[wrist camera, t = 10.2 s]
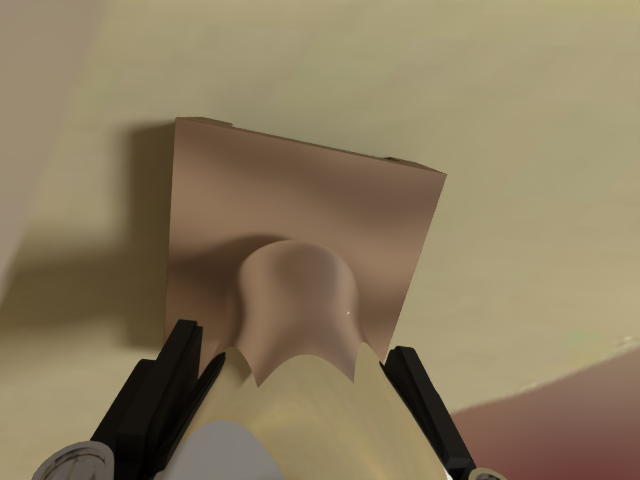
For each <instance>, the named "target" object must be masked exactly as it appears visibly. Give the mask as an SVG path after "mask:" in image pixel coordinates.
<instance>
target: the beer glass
mask: <svg viewBox="0 0 640 480" xmlns="http://www.w3.org/2000/svg"><path fill="white" fill-rule="evenodd" d="M140 480H454V479H453V477H452V475H451V474H450V472H449V470H448V468H447V467H446V465H445V463H444V461H443V460H442V458H441V456H440V454H439V453H438V451H437V449H436V447H435V446H434V444H433V442H432V440H431V439H430V437H429V435H428V434H427V432H426V430H425V428H424V427H423V425H422V424H421V422H420V421H419V419H418V417H417V416H416V414H415V413H414V411H413V410H412V408H411V407H410V405H409V403H408V402H407V400H406V399H405V397H404V396H403V394H402V392H401V391H400V389H399V388H398V386H397V385H396V383H395V382H394V380H393V379H392V377H391V376H390V374H389V373H388V371H387V370H386V368H385V366H384V365H383V363H382V362H381V360H380V359H379V357H378V356H377V354H376V353H375V351H374V349H373V348H372V346H371V344H370V343H369V341H368V339H367V337H366V335H365V333H364V331H363V328H362V324H361V317H360V296H359V289H358V285H357V282H356V279H355V277H354V274H353V272H352V271H351V269H350V268H349V266H348V265H347V264H346V262H345V261H344V260H343V259H342V258H341V257H340V256H338V255H337V254H336V253H335V252H333V251H332V250H330V249H328V248H326V247H324V246H322V245H319V244H316V243H313V242H309V241H303V240H284V241H278V242H274V243H270V244H268V245H265V246H263V247H261V248H259V249H257V250H255V251H254V252H252V253H251V254H249V255H248V256H247V257H246V258H245V259H244V260H242V262H241V263H240V264H239V265H238V266H237V267H236V269H235V270H234V272H233V273H232V275H231V277H230V280H229V282H228V285H227V289H226V294H225V323H224V330H223V334H222V337H221V339H220V342H219V344H218V346H217V348H216V350H215V352H214V354H213V355H212V357H211V359H210V361H209V363H208V364H207V366H206V368H205V369H204V371H203V373H202V374H201V376H200V377H199V379H198V381H197V382H196V384H195V386H194V387H193V389H192V391H191V392H190V394H189V395H188V397H187V399H186V400H185V402H184V404H183V406H182V407H181V409H180V411H179V412H178V414H177V416H176V417H175V419H174V421H173V422H172V424H171V426H170V427H169V429H168V431H167V433H166V434H165V436H164V438H163V439H162V441H161V443H160V444H159V446H158V448H157V450H156V451H155V453H154V455H153V457H152V459H151V461H150V463H149V464H148V466H147V468H146V470H145V472H144V474H143V476H142V478H141V479H140Z"/></svg>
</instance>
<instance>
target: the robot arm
mask: <svg viewBox="0 0 640 480" xmlns="http://www.w3.org/2000/svg"><path fill="white" fill-rule="evenodd" d="M197 325H198V323H197V321H193V320H185V319H179V320H178V321H177V323H176V325H175V326H174V328H173V330H172V332H171V334H170V335H169V337H168V339H167V341H166V343H165V344H164V346H163V348H162V350H161V352H160V354H159V355H158V357H157V359H156V360H148V359H141V360H140V361H139V362H138V363H137V365H136V366H135V368H134V370H133V371H132V373H131V375H130V376H129V378H128V379H127V381H126V383H125V384H124V386H123V387H122V389H121V391H120V392H119V394H118V396H117V397H116V399H115V400H114V402H113V404H112V405H111V407H110V408H109V410H108V412H107V413H106V415H105V416H104V418H103V420H102V421H101V423H100V425H99V426H98V428H97V429H96V431H95V433H94V434H93V436H92V437H91V439H90V441H85V442H78V443H75V444H72V445H70V446H67V447H65V448H63V449H61V450H59V451H58V452H56V453H54V454H53V455H52V456H51V457H49V458H48V459H47V460H46V461H45V462H43V463H42V465H41V466H40V467H39V468H38V470H37V471H36V472H35V473H34V475H33V477H32V480H140V479H141V478H142V476H143V474H144V472H145V470H146V468H147V466H148V464H149V463H150V461H151V459H152V457H153V455H154V453H155V451H156V450H157V448H158V446H159V444H160V443H161V441H162V439H163V438H164V436H165V434H166V433H167V431H168V429H169V427H170V426H171V424H172V422H173V421H174V419H175V417H176V416H177V414H178V412H179V411H180V409H181V407H182V406H183V404H184V402H185V400H186V399H187V397H188V395H189V394H190V392H191V391H192V389H193V387H194V386H195V384H196V382H197V381H198V375H199V365H200V355H201V345H202V335H203V326H197ZM385 368H386V370H387V371H388V373H389V374H390V376H391V377H392V379H393V380H394V382H395V383H396V385H397V386H398V388H399V389H400V391H401V392H402V394H403V396H404V397H405V399H406V400H407V402H408V403H409V405H410V407H411V408H412V410H413V411H414V413H415V414H416V416H417V417H418V419H419V421H420V422H421V424H422V425H423V427H424V428H425V430H426V432H427V434H428V435H429V437H430V439H431V440H432V442H433V444H434V446H435V447H436V449H437V451H438V453H439V454H440V456H441V458H442V460H443V461H444V463H445V465H446V467H447V468H448V470H449V472H450V474H451V475H452V477H453V479H454V480H507V479H506V478H504V477H503V476H502V475H500V474H498V473H496V472H495V471H493V470H490V469H487V468H477V467H476V465H475V463H474V461H473V459H472V457H471V456H470V454H469V452H468V450H467V448H466V446H465V444H464V442H463V440H462V438H461V436H460V434H459V432H458V430H457V428H456V427H455V425H454V423H453V421H452V419H451V417H450V415H449V413H448V411H447V409H446V407H445V405H444V403H443V401H442V399H441V398H440V396H439V394H438V393H437V391H436V390H435V388H434V386H433V384H432V382H431V381H430V379H429V377H428V375H427V373H426V371H425V369H424V367H423V365H422V363H421V361H420V359H419V357H418V355H417V353H416V351H415V350H414V348H411V347H403V346H396V347H395V349H394V350H393V349H392V350H390V352H389V354H388V357H387V360H386V363H385Z"/></svg>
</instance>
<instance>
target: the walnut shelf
mask: <svg viewBox="0 0 640 480" xmlns="http://www.w3.org/2000/svg"><path fill="white" fill-rule="evenodd" d="M446 176H447V174H445V173H442V172H439V171H437V170H434V169H432V168H429V167H426V166H424V165H421V164H419V163H416V162H411V161H406V160H402V159H397V158H392V157H390V159H389V160H388V159H383V158H378V157H374V156H369V155H364V154H359V153H355V152H350V151H345V150H340V149H336V148H331V147H326V146H321V145H317V144H312V143H307V142H302V141H298V140H293V139H288V138H283V137H279V136H274V135H269V134H265V133H260V132H255V131H250V130H246V129H241V128H236V127H232V123H227V122H223V121H218V120H213V119H209V118H204V117H176V120H175V139H174V158H173V177H172V196H171V215H170V234H169V252H168V271H167V290H166V309H165V328H164V344H165V343H166V341H167V339H168V337H169V335H170V334H171V332H172V330H173V328H174V326H175V325H176V323H177V321H178V320H179V319H185V320H193V321H197V323H198V325H197V326H203V335H202V345H201V355H200V365H199V375H198V379H199V377H200V376H201V374H202V373H203V371H204V369H205V368H206V366H207V364H208V363H209V361H210V359H211V357H212V355H213V354H214V352H215V350H216V348H217V346H218V344H219V342H220V339H221V337H222V334H223V330H224V323H225V294H226V289H227V285H228V282H229V280H230V277H231V275H232V273H233V272H234V270H235V269H236V267H237V266H238V265H239V264H240V263H241V262H242V260H244V259H245V258H246V257H247V256H248V255H249V254H251V253H252V252H254V251H255V250H257V249H259V248H261V247H263V246H265V245H268V244H270V243H274V242H278V241H284V240H303V241H309V242H313V243H316V244H319V245H322V246H324V247H326V248H328V249H330V250H332V251H333V252H335V253H336V254H337V255H338V256H340V257H341V258H342V259H343V260H344V261H345V262H346V264H347V265H348V266H349V268H350V269H351V271H352V272H353V274H354V277H355V279H356V282H357V285H358V289H359V296H360V317H361V324H362V328H363V331H364V333H365V335H366V337H367V339H368V341H369V343H370V344H371V346H372V348H373V349H374V351H375V353H376V354H377V356H378V357H379V359H380V360H381V362H382V363H383V362H384V359H385V356H386V353H387V350H388V347H389V344H390V341H391V338H392V335H393V332H394V329H395V327H396V324H397V321H398V318H399V315H400V312H401V309H402V306H403V303H404V300H405V297H406V294H407V291H408V288H409V285H410V282H411V279H412V276H413V274H414V271H415V268H416V265H417V262H418V259H419V256H420V253H421V250H422V247H423V244H424V241H425V238H426V235H427V232H428V229H429V226H430V223H431V221H432V218H433V215H434V212H435V209H436V206H437V203H438V200H439V197H440V194H441V191H442V188H443V185H444V182H445V179H446Z"/></svg>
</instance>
